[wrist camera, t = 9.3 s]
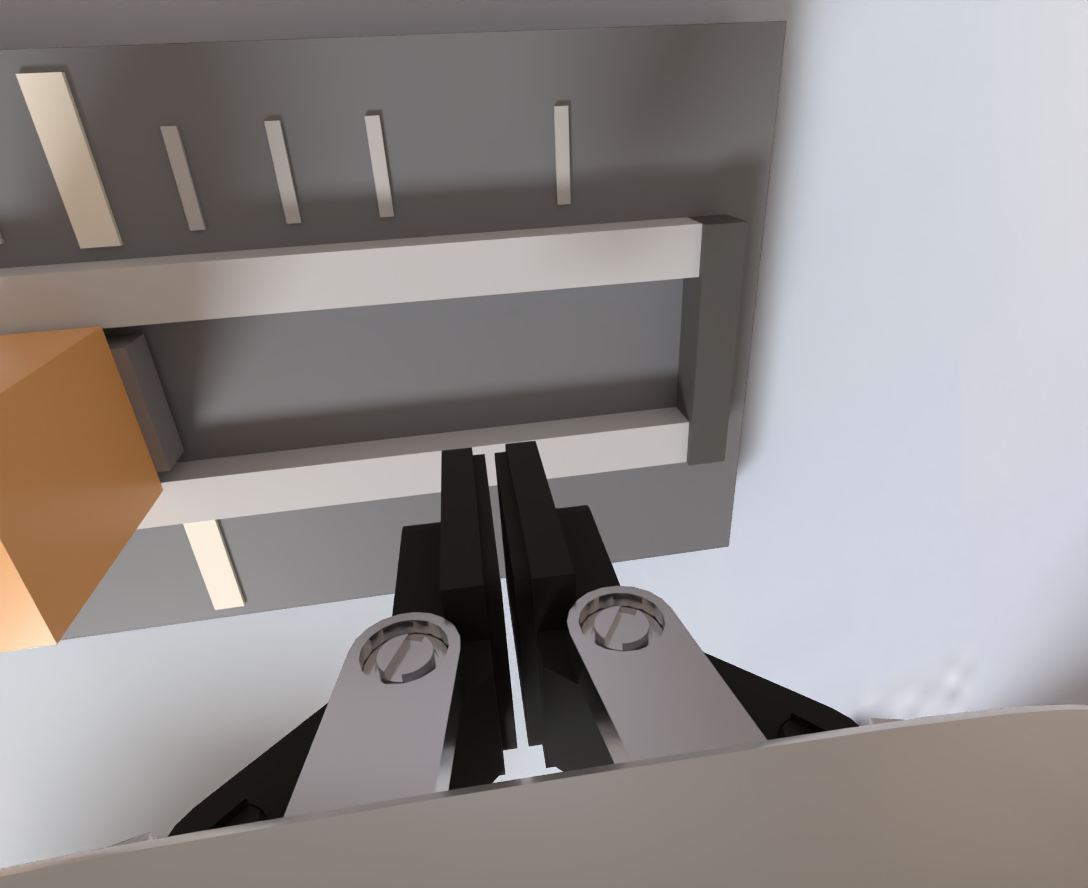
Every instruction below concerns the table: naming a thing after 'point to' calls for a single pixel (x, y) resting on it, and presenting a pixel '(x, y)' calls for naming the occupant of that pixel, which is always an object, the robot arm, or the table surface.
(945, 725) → the robot arm
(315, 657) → the table surface
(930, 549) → the table surface
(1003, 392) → the table surface
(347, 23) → the table surface
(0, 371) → the fader
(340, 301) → the console
